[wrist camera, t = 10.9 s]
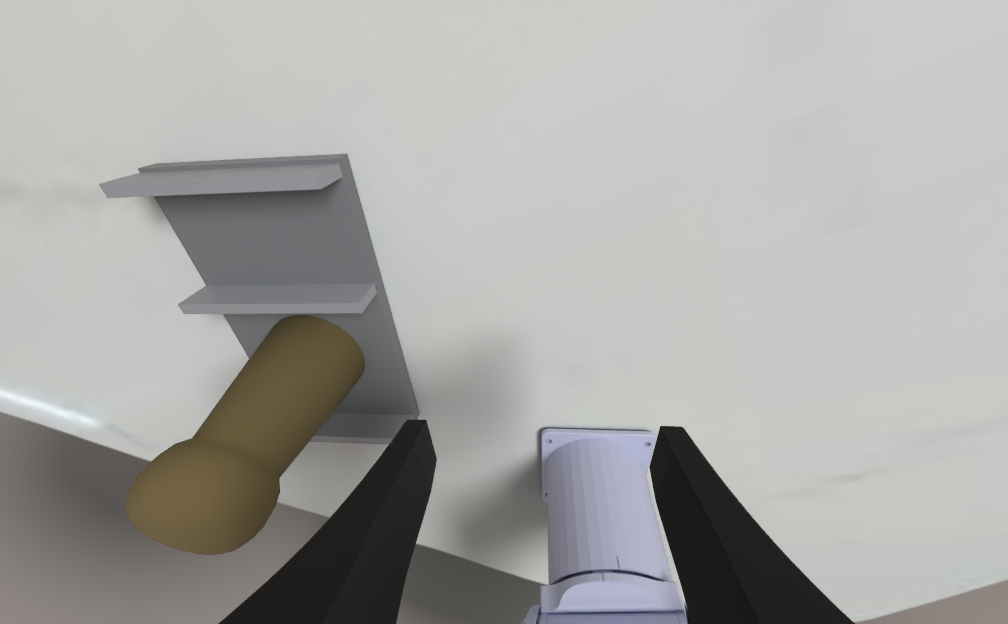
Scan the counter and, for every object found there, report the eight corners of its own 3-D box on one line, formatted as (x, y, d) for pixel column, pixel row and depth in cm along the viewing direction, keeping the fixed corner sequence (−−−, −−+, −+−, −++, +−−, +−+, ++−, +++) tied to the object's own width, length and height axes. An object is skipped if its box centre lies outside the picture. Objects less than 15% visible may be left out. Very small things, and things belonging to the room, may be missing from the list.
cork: (320, 398, 26) (199, 581, 17) (249, 337, 23) (58, 516, 14) (384, 370, 24) (286, 561, 14) (315, 299, 21) (142, 480, 12)
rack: (419, 413, 27) (407, 448, 25) (293, 410, 28) (269, 443, 26) (346, 153, 17) (314, 169, 15) (155, 163, 18) (95, 179, 16)
